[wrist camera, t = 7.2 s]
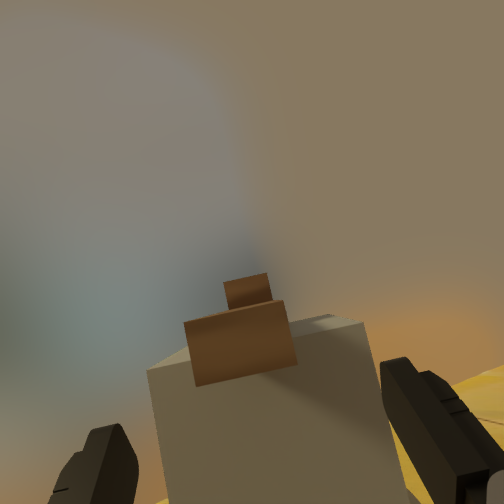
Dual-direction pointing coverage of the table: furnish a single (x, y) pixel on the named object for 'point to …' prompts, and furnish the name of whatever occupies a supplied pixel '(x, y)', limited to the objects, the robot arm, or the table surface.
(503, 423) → the table surface
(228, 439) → the pedestal
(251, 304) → the brown wooden bar
